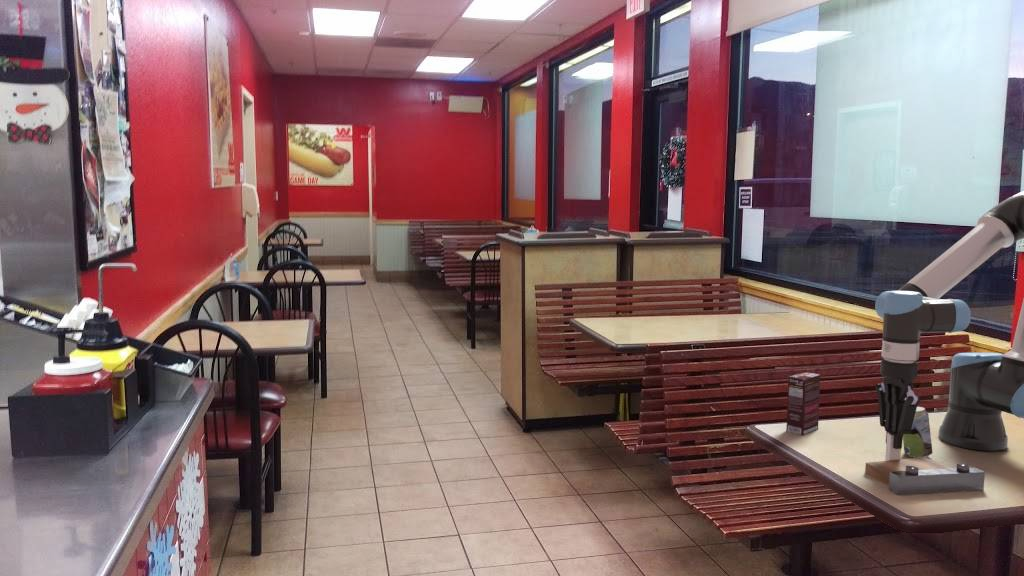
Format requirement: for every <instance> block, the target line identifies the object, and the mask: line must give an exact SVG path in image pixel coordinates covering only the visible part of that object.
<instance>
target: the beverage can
mask: <svg viewBox="0 0 1024 576" xmlns="http://www.w3.org/2000/svg"><path fill="white" fill-rule="evenodd" d="M931 436H932V435H931V426H930V418H929V413H928V411H927V410H926V408H925V407H923V406H918V405H917V409H916V412H915V416H914V420H913V424H912V428H911V432H910V434H904V435H903V441H902V445H903V451H904V454H905V455H907V456H908V455H909V458H912V457H913V458H920V457H926V458H928V457H930V455H932V454H933V445H932V437H931Z"/></svg>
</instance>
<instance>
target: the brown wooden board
mask: <svg viewBox="0 0 1024 576" xmlns="http://www.w3.org/2000/svg"><path fill="white" fill-rule="evenodd" d="M906 466H915V467H917V468H919V470H930V469H949V468H951V467H950V466H947V465H944V464H943V463H940V462H937V461H936V460H932V459H930V458H928V457H920V458H912V457H909V458H900V459H899V460H889V461H886V460H882V461H881V460H879V461H870V462H869V461H868V462H865V465H864V467H865V468H864V469H865V470H864V474H866V475H868V476H870V477H871V478H873V479H876V480H878V481H879V482H882V483H884V484H886V485H888V486H889V479H890V472H893V471H906Z"/></svg>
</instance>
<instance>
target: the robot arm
mask: <svg viewBox="0 0 1024 576" xmlns="http://www.w3.org/2000/svg"><path fill="white" fill-rule="evenodd" d="M1023 239H1024V191H1021V192H1017V193H1016V194H1014V195H1012V196H1010V197H1008V198H1006V199H1005V200H1002V201H1001V202H999V203H998V204H996V205H994V206H993V207H992V208H991V209H989V210H988V211H987V212H985V213H984V214H983V215H982V216H980V217H979V218H978V220H977V224H976V226H975V227H974V228H972V229H971V230H970V231H969V232H968V233H966V235H965V234H964V236H962V238H961V239H959V240H957V242H956V243H954V244H953V245H952V246H950V247H949V248H948V249H947V250H945V251H944V252H943V253H942V254H941V255H939V256H938V257H937V258H936V259H934V260H933V261H932V262H931V263H930V264H928V265H927V266H926V267H925V268H924V269H923V270H921V271H920V272H918V273H917V274H916V275H915V276H914V277H913V278H911V279H910V280H909V281H908V282H906V283H905V284H904V285H902V286H901V287H900V288H899V289H898V290H886V291H883V292H881V293H880V294H879V295H878V296H877V297H876V300H875V303H874V305H875V312H876V315H877V316H878V317H880V319H882V321H883V322H882V323H883V325H882V341H881V342H882V345H881V357H882V359H881V360H880V371H879V374H880V375H881V376H882V377H883V379H882V382H881V383H876V384H875V385H874V386H875V391H876V393H877V401H878V402H877V405H878V414H879V425H880V427H883V428H884V431H885V432H886V434H885V444H886V447H885V458H884V459H885V460H884V461H889V460H899V459H902V458H901V455H902V448H903V435H904V434H910V432H911V428H912V424H913V420H914V416H915V412H916V409H917V406H918V405H919V404H920V402H921V400H922V398H921V396H920V395H916V394H915V392H914V385H913V381H914V379H917V378H918V369H919V363H918V362H917V361H918V360H919V358H920V344H921V343H920V341H921V334H928V333H929V334H930V333H932V334H934V333H935V334H937V333H949V334H952V333H958V332H962V331H964V330H966V329H967V328H968V327H969V325H970V322H971V316H972V313H971V310H970V307H969V305H968V304H967V303H966V302H965V301H964V300H961V299H953V298H947V299H946V298H945V299H944V298H943V299H941V298H942V297H943V296H944V295H945V294H946V293H947V292H949V291H950V290H951V289H952V288H954V287H955V286H957V284H958V283H960V282H961V281H962V280H963V279H965V278H966V277H968V276H969V274H971V273H972V272H973V271H975V270H976V269H977V268H978V267H979V266H981V264H983V263H984V262H986V261H987V260H988V259H989V258H991V256H993V255H994V254H995V253H997V251H999V250H1000V249H1002V248H1009V247H1011V246H1012V245H1013V244H1014V243H1016V242H1017V241H1019V240H1023ZM1021 304H1022V305H1021V309H1020V313H1019V316H1018V321H1017V325H1016V330H1015V332H1014V338H1013V340H1012V341H1013V343H1012V347H1011V349H1010V350H1009V351H1007V352H1005V353H998V352H997V353H996V352H959V353H958V352H957V353H956V354H954V356H953V357H952V359H951V366H950V370H949V372H950V373H949V391H948V392H949V393H948V408H947V411H946V413H945V415H944V418H943V421H942V422H941V425H940V426H939V428H938V439H939V440H941V441H942V442H944V443H947V444H949V445H951V446H954V447H959V448H963V449H968V450H974V451H975V450H976V451H988V452H989V451H990V452H996V451H1003V450H1005V449H1007V448H1008V444H1009V443H1008V441H1009V440H1008V439H1009V438H1008V435H1007V432H1006V428H1005V423H1004V420H1003V418H1002V417H1003V416H1002V412H1003V413H1007V414H1009V415H1013V416H1015V417H1016V418H1019V419H1024V298H1023V301H1022V303H1021Z"/></svg>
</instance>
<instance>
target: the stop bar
mask: <svg viewBox="0 0 1024 576" xmlns="http://www.w3.org/2000/svg"><path fill="white" fill-rule="evenodd" d="M985 474H986V472H985V471H984V470H981V469H979V468H977V467H975V466H970V465H969V464H967V463H963V462H959V463H958V462H957V463H956V467H954V468H953V467H950V468H949V469H930V470H919V468H917V467H915V466H906V471H893V472H890V479H889V485H888V491H890V492H891V493H893V494H895V495H897V496H905V495H906V496H908V495H909V496H910V495H923V494H939V493H940V494H941V493H943V494H944V493H956V492H959V493H960V492H973V491H984V489H985V488H984V487H985V476H986V475H985Z"/></svg>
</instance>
